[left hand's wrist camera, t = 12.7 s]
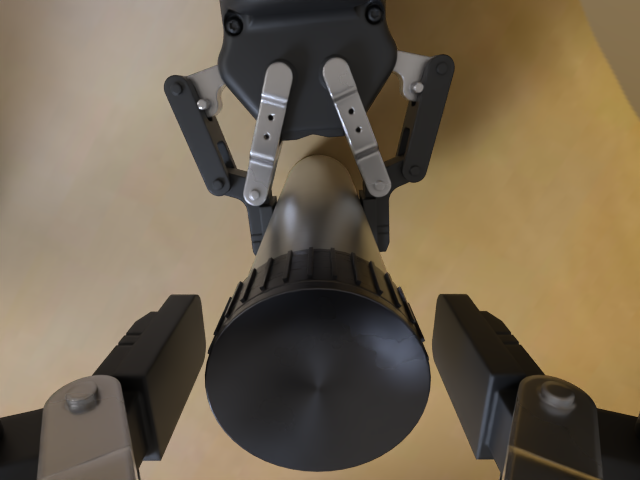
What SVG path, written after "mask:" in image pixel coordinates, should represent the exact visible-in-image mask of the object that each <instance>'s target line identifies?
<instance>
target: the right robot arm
mask: <svg viewBox="0 0 640 480" xmlns="http://www.w3.org/2000/svg"><path fill="white" fill-rule="evenodd" d="M220 7H221V14H222V21H223V29H224V38H223V45H222V49H221V52H220V54H219V57H218V65H216V66H213V67H210V68H208V69H205V70H203V71H200V72H197V73H195V74H192V75H189V76H179V75H172V76H170V77H168V78H167V79H166V81H165V84H164V91H165V94H166V96H167V98H168V101H169V103H170V105H171V107H172V110H173V112H174V114H175V116H176V119H177V121H178V123H179V125H180V128H181V130H182V132H183V135H184V137H185V139H186V141H187V144H188V146H189V148H190V150H191V153H192V155H193V157H194V159H195V162H196V164H197V166H198V168H199V171H200V173H201V175H202V177H203V180H204V182H205V184H206V186H207V189H208V190H209V192H210V193H212V194H213V195H216V196H223V195H226V196H230V197H234V198H237V199H239V200H241V201H242V202H243V203H244V204H245V206H246V207H247V211H248V218H249V225H250V232H251V239H252V246H253V252H254V254H255V256H256V255H257V252H258V250H259V247H260V245H261V242H262V239H263V237H264V234H265V232H266V229H267V227H268V224H269V222H270V219H271V217H272V214H273V212H274V209H275V207H276V204H277V197H276V196H272V190H271V188H272V184H273V180H274V176H275V171H276V167H277V163H278V159H279V155H280V152H281V148H282V144H283V141H286V140H297V139H300V138H303V137H306V136H308V135H311V134H315V135H320V136H325V137H338V136H345V137H346V139H347V142H348V144H349V147H350V149H351V151H352V154H353V156H354V159H355V161H356V164H357V166H358V169H359V171H360V174H361V176H362V180H363V190H359V200H360V202H361V205H362V208H363V210H364V213H365V216H366V218H367V221H368V223H369V226H370V229H371V231H372V234H373V236H374V239H375V242H376V244H377V247H378V250H379V252H385V251H386V250H387V247H388V245H389V197H390V194H391V193H392V191H393V190H394V189H395V188H397V187H399V186H401V185H404V184H406V183H408V182H412V183H415V182H419V181H421V180H422V179H423V178H424V177H425V175H426V172H427V169H428V165H429V161H430V158H431V154H432V150H433V147H434V143H435V139H436V136H437V132H438V128H439V125H440V121H441V117H442V114H443V110H444V106H445V103H446V99H447V95H448V92H449V88H450V84H451V81H452V77H453V73H454V69H455V65H454V62H453V60H452V58H451V57H449V56H448V55H444V54H442V55H436V56H433V57H428V56H423V55H418V54H413V53H408V52H403V51H399V50H397V47H396V44H395V41H394V40H393V38H392V36H391V34H390V32H389V29H388V26H387V22H386V11H385V0H220ZM391 73H394V74H395V75H396V76H397V77H398V79H399V82H400V88H399V90H400V94H401V96H402V97H403V98H404V99H405V100H408V101H409V103H408V107H407V112H406V116H405V120H404V124H403V128H402V132H401V136H400V140H399V144H398V149H397V153H396V157H394V158H392V159H390V160H388V161H385V162H383V160H382V157H381V154H380V152H379V148H378V144H377V141H376V139H375V136H374V133H373V131H372V128H371V125H370V123H369V120H368V117H367V115H366V113H367V111H368V110H369V108H370V106H371V105H372V103H373V102H374V100H375V98H376V97H377V95H378V94H379V92H380V90H381V89H382V87H383V86H384V84H385V82H386V81H387V79H388V78H389V76H390V74H391ZM226 86H227V87H228V88H229V89H230V90H231V92H232V93H233V94H234V95H235V96H236V97H237V99H238V100H239V101H240V102H241V103H242V104H243V106H244V107H245V108H246V109H247V110H248V111H249V113H250V114H251V115H252V116H253V117H254V118H255V119H256V121H257V122H256V127H255V131H254V136H253V141H252V146H251V151H250V162H249V167H248V172H246V171H243V170H239V169H237V168H236V165H235V163H234V160H233V158H232V155H231V153H230V151H229V148H228V146H227V143H226V141H225V138H224V136H223V133H222V131H221V129H220V126H219V124H218V121H217V119H216V115H218V114H219V113H220V112H221V110H222V100H221V93H222V90H223V89H224V88H225V87H226Z"/></svg>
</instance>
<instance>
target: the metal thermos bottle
mask: <svg viewBox="0 0 640 480" xmlns="http://www.w3.org/2000/svg"><path fill="white" fill-rule="evenodd" d="M309 247H313V249H330V248H335V250H338V251H343V252H347V253H350V254H351V252H353V253H355V254H356V256H358V257H360V258H362V259H364V260H367V261H369V262H370V261H373V262H374V264H375V266H376V267H378V268H379V269H380V270H381V271H383V272H384V273H385V274H386V273H387V271H386V268H385V265H384V263H383V260H382V257H381V255H380V252H379V250H378V247H377V244H376V242H375V239H374V236H373V234H372V231H371V229H370V226H369V223H368V221H367V218H366V216H365V213H364V210H363V208H362V205H361V202H360V200H359V197H358V195H357V192H356V189H355V187H354V184H353V181H352V179H351V176H350V174H349V172H348V171H347V169H346V168H345V167H344V165H343V164H341V163H340V162H339V161H338V160H336V159H334V158H332V157H329V156H325V155H313V156H309V157H306V158H304V159H302V160H300V161H299V162H298V163H296V164H295V165H294V166H293V168H292V169H291V170H290V172H289V174H288V176H287V179H286V181H285V184H284V186H283V189H282V191H281V194H280V196H279V199H278V201H277V204H276V207H275V209H274V212H273V214H272V217H271V219H270V222H269V224H268V227H267V229H266V232H265V234H264V237H263V239H262V242H261V245H260V247H259V250H258V252H257V255H256V257H255V260H254V262H253V265H252V267H251V270H252V269H253V268H255V269H257V268H258V267H260V266H261V265H263V264H265V263H266V262H268V259H269V258H271V257H272V258H273V259H274V258H276V257H278V256H280V255H283V254H287V253H288V251H290V250H292V252H293V251H299V250H304V249H309ZM251 270H250V272H249V275H250V273H251ZM249 275H248V276H249Z"/></svg>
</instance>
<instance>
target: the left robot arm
mask: <svg viewBox="0 0 640 480" xmlns="http://www.w3.org/2000/svg"><path fill="white" fill-rule="evenodd" d="M205 351H206V340H205V331H204V323H203V314H202V305H201V300H200V297H199V295H170V296H169V297H168V299H167V300H166V301H165V303H164V304H163V305H162V307H161V308H160V309H159V311H158V312H150V313H148V314H147V315H145V316H144V317H142V318H141V319H139V320H137V321H136V322H135V323H134V324H133V326H132V327H131V328H130V329H129V330H128V332H127V333H126V336H124V337H123V338H122V339H121V340H120V342H119V343H118V345H116V347H115V348H114V349H113V350H112V351H111V353H110V354H109V355H108V356H107V358H106V359H105V360H104V361H103V363H102V364H101V365H100V366H99V367H98V369H97V370H96V371H95V372H94V374H93V375H92V376H88V377H84V378H81V379H78V380H75V381H73V382H71V383H69V384H67V385H65V386H63V387H62V388H60V389H59V390H57V391H56V392H55V393H54V394H53V395H52V396H51V397H50V398H49V399H48V400H47V402H46V403H45V405H44V408H42V409H38V410H34V411H30V412H25V413H21V414H16V415H12V416H7V417H2V418H0V480H141V477H140V473H139V467H140V465H141V463H142V461H161V459H162V457H163V454H164V452H165V450H166V447H167V445H168V443H169V440H170V438H171V436H172V434H173V431H174V429H175V427H176V424H177V422H178V420H179V418H180V415H181V413H182V411H183V408H184V406H185V404H186V401H187V399H188V397H189V395H190V392H191V390H192V388H193V385H194V383H195V381H196V378H197V376H198V374H199V372H200V369H201V367H202V365H203V362H204V358H205ZM432 351H433V358H434V361H435V364H436V367H437V369H438V371H439V374H440V376H441V378H442V381H443V383H444V385H445V388H446V390H447V392H448V395H449V397H450V399H451V402H452V404H453V406H454V409H455V411H456V413H457V416H458V418H459V420H460V423H461V425H462V427H463V430H464V432H465V434H466V437H467V439H468V441H469V444H470V446H471V448H472V451H473V453H474V455H475V458H476V459H494V460H495V462H496V464H497V466H498V468H499V470H500V472H501V473H500V477H499V480H640V413H639V416H638V417H635V416H630V415H626V414H621V413H616V412H612V411H607V410H603V409H598V408H596V405H595V403H594V402H593V400H592V399H591V398H590V397H589V396H588V395H587V394H586V393H585V392H584V391H583V390H581V389H580V388H578V387H577V386H575V385H573V384H571V383H569V382H567V381H565V380H562V379H559V378H556V377H552V376H546V375H545V374H544V373H543V372H542V370H541V369H540V368H539V367H538V365H537V364H536V363H535V362H534V360H533V359H532V358H531V357H530V356H529V354H528V353H527V352H526V351H525V349H524V348H523V347H522V346H521V345H519V342H518V341H517V339H516V338H515V337H514V336H513V335H511V332H510V331H509V329H508V328H507V327H506V326H505V324H504V323H503V322H502V321H501V320H499V319H498V318H496V317H495V316H493V315H492V314H490V313H489V312H487V311H479V310H478V308H477V307H476V305H475V304H474V303H473V301H472V300H471V299H470V297H469V296H468V295H467V294H440V295H439V296H438V299H437V304H436V313H435V321H434V330H433V339H432Z"/></svg>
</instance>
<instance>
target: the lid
mask: <svg viewBox="0 0 640 480" xmlns="http://www.w3.org/2000/svg"><path fill="white" fill-rule="evenodd" d="M213 335H215V336H214V338H213V341H212V343H211V345H210V347H209V350H208V354H209V357H208V360H207V364H206V371H205V388H206V393H207V399H208V402H209V405H210V407H211V410H212V412H213V414H214V416H215V418H216V420H217V422H218V423H219V424H220V426H221V427H222V429H223V430H224V431H225V432H226V433H227V435H228V436H229V437H230V438H231V439H232V440H233V441H234V442H236V443H237V444H238V445H239V446H240V447H242V448H243V449H244V450H246V451H248V452H249V453H251V454H252V455H254V456H256V457H258V458H260V459H262V460H264V461H266V462H269V463H272V464H274V465H277V466H281V467H285V468H289V469H294V470H300V471H313V472H323V471H335V470H342V469H347V468H351V467H355V466H358V465H361V464H364V463H367V462H370V461H372V460H374V459H376V458H378V457H380V456H382V455H383V454H385V453H387V452H388V451H390V450H391V449H393V448H394V447H395V446H397V445H398V444H399V443H400V442H402V440H403V439H404V438H405V437H406V436H407V435H408V434H409V433H410V432H411V431H412V430H413V428H414V427H415V426H416V424H417V423H418V421H419V419H420V418H421V416H422V414H423V412H424V409H425V407H426V404H427V401H428V397H429V392H430V382H431V374H430V366H429V357H428V354H427V352H426V350H425V347H424V345H423V342H424V341H425V340H424V337H423V335H422V332H421V330H420V328H419V325H418V323H417V321H416V318H415V316H414V314H413V311H412V309H411V307H410V304H409V303H407V300H406V298H405V295H404V293H403V291H402V289H401V287H398V288H397V286H396V285H395V284H394V283H393V281H392V279H391V276H390V274H389V273H388V272H387V273H386V274H385V273H384V272H383V271H381V270H380V269H379V268H378V267H376V266H375V264H374V262H373V261H370V262H369V261H367V260H364V259H362V258H360V257H358V256H356V254H355V253H353V252H351V254H350V253H347V252H343V251H338V250H335V248H330V249H313V247H309V249H304V250H299V251H293V252H292V250H290V251H288V253H287V254H283V255H280V256H278V257H276V258H274V259H273V258H272V257H271V258H269V259H268V262H266V263H265V264H263V265H261V266H260V267H258V268H257V269H255V268H253V269H252V270H251V273H250V275H249V276H248V277H247V278H246V279H245V280H244V282H243V283H242V282H241V281H240V282H239V283H238V285H237V288H236V290H235V292H234V295H233V297H230V298H229V300H228V302H227V305H226V307H225V309H224V311H223V314H222V316H221V318H220V320H219V323H218V325H217V327H216V329H215V332H214V334H213Z"/></svg>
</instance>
